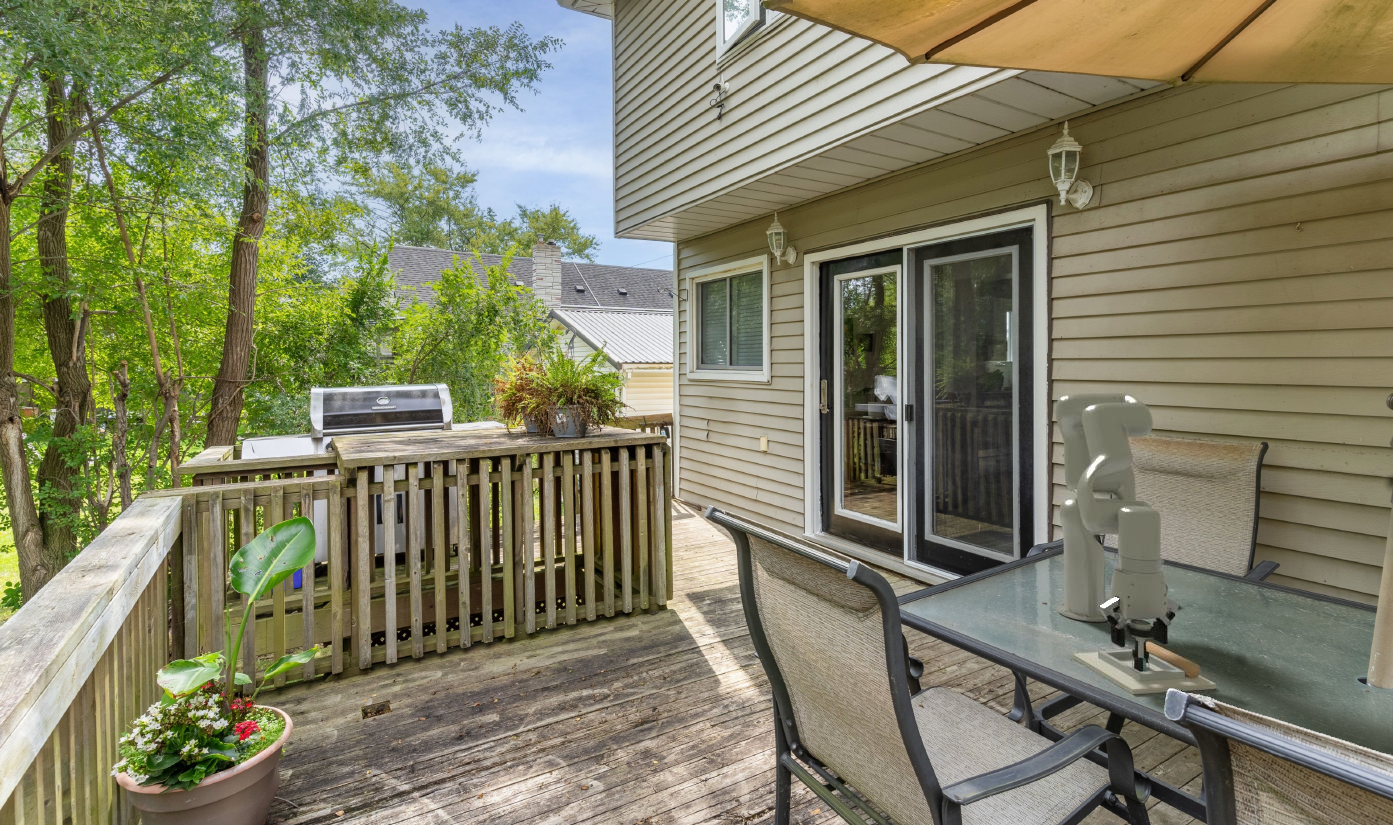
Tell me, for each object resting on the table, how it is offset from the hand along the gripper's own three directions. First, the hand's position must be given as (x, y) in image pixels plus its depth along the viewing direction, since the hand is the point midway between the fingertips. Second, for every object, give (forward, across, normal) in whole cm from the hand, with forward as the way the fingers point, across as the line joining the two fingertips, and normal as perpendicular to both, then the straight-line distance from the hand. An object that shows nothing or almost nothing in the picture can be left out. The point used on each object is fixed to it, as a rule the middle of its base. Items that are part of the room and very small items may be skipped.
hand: (1139, 643), depth 138 cm
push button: (+5, 0, 0) cm, 5 cm away
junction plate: (+6, 0, 0) cm, 6 cm away
